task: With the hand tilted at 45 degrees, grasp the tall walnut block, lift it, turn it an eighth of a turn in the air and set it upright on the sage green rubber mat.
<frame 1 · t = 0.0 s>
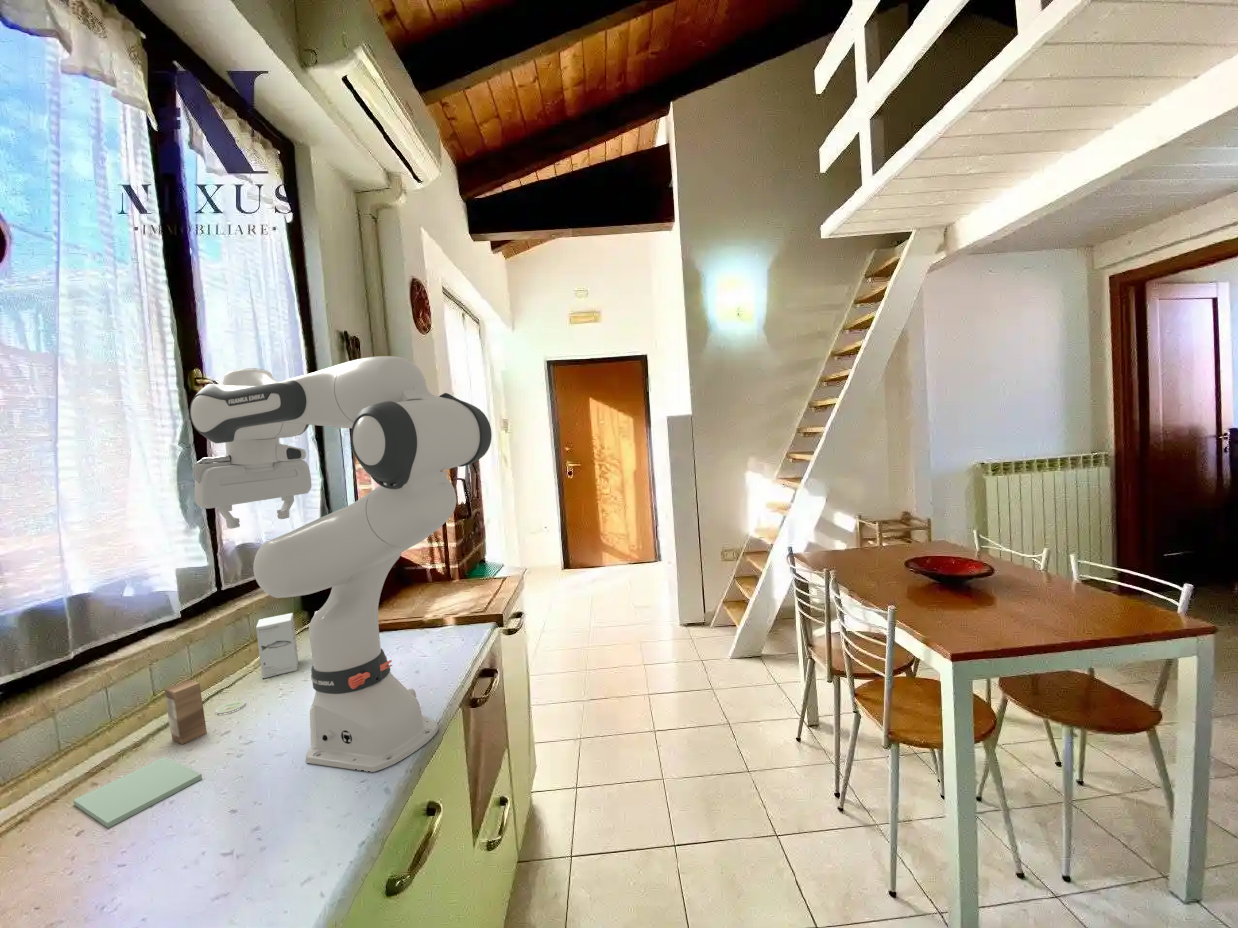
hand: (259, 522, 109), 39 cm above the worktop, tool pointing down, fingers open, 8 cm apart
supplement box: (281, 670, 134), on the worktop
rubber mat: (139, 791, 89), on the worktop
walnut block: (189, 736, 105), on the worktop
sign: (242, 700, 120), on the worktop
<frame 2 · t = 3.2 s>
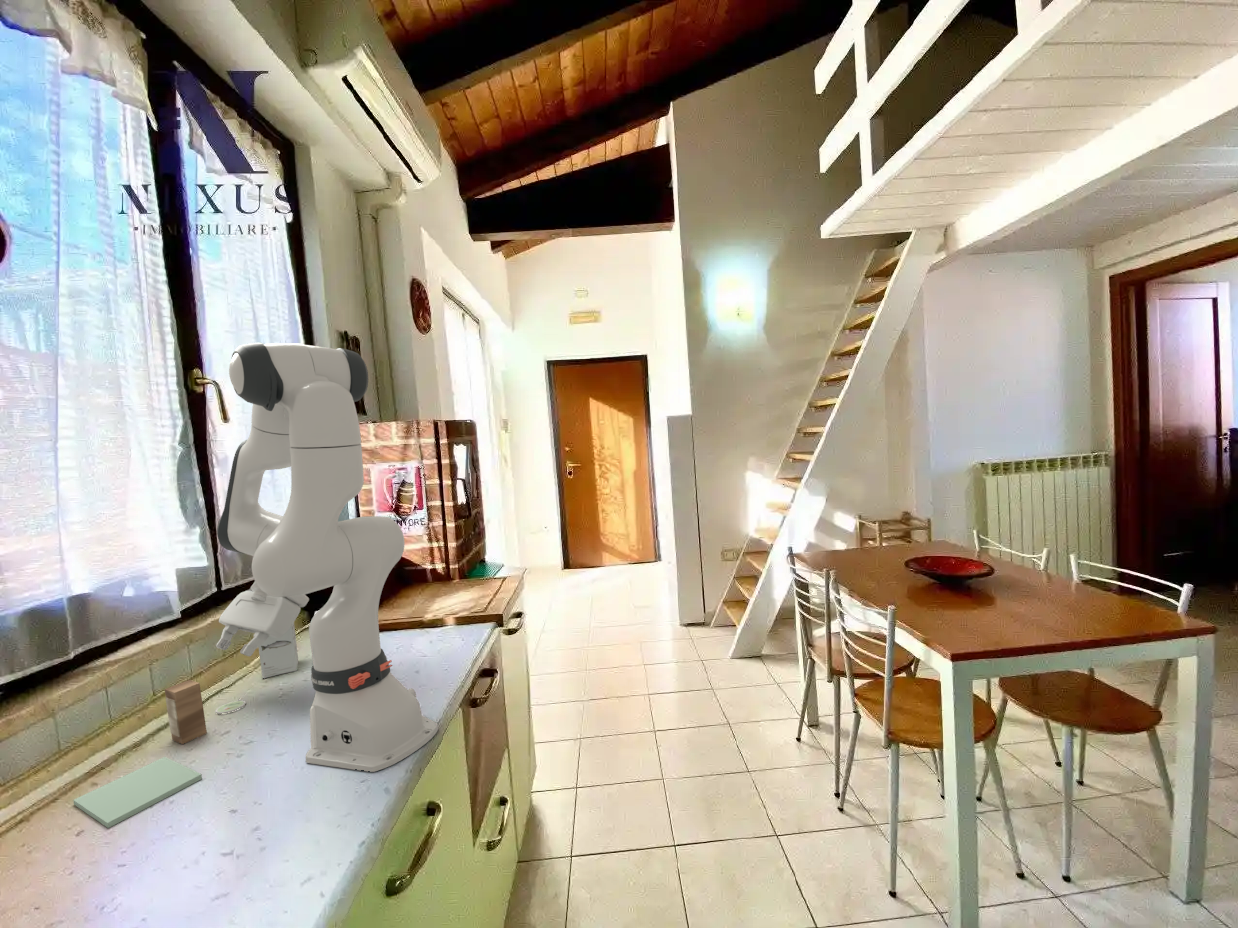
hand: (232, 651, 112), 13 cm above the worktop, tool tilted 45°, fingers open, 8 cm apart
nothing on the worktop moved.
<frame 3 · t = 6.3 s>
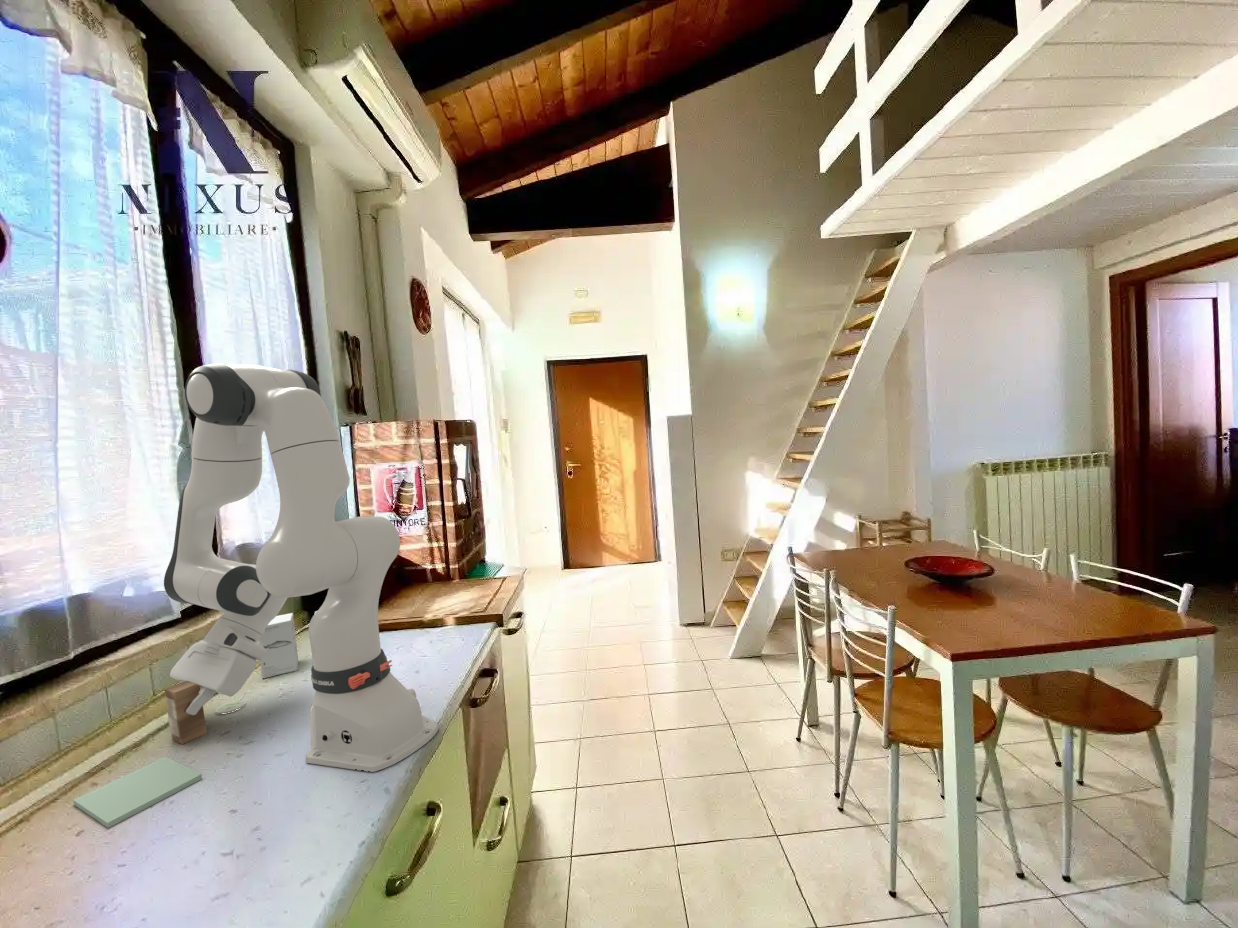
hand: (181, 711, 104), 5 cm above the worktop, tool tilted 45°, fingers closed on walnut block, 4 cm apart
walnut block: (189, 736, 105), on the worktop, touching gripper
everything else where it was.
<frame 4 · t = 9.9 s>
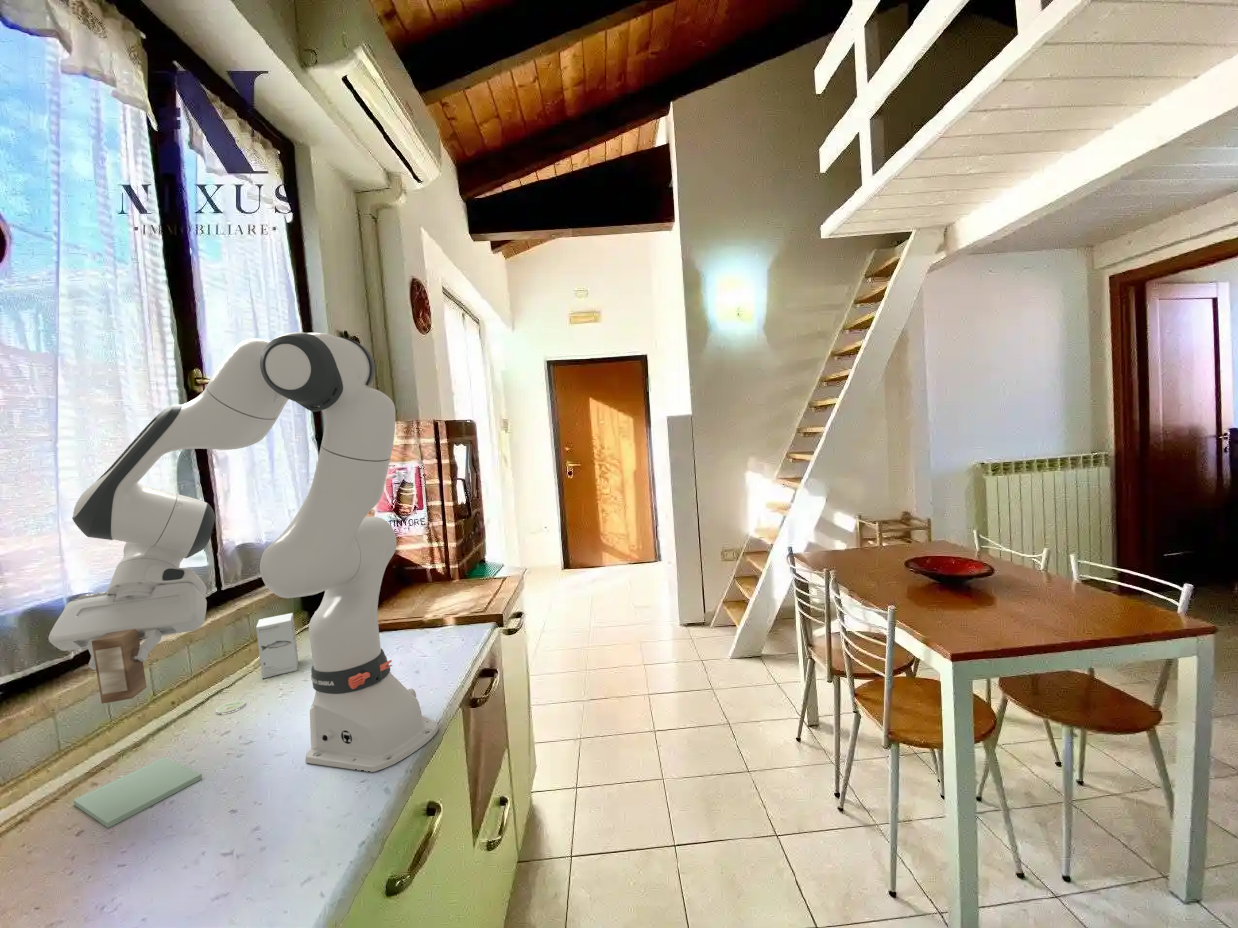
hand: (117, 664, 87), 21 cm above the worktop, tool tilted 45°, fingers closed on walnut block, 4 cm apart
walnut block: (124, 695, 88), point 16 cm above the worktop, touching gripper
everything else where it was.
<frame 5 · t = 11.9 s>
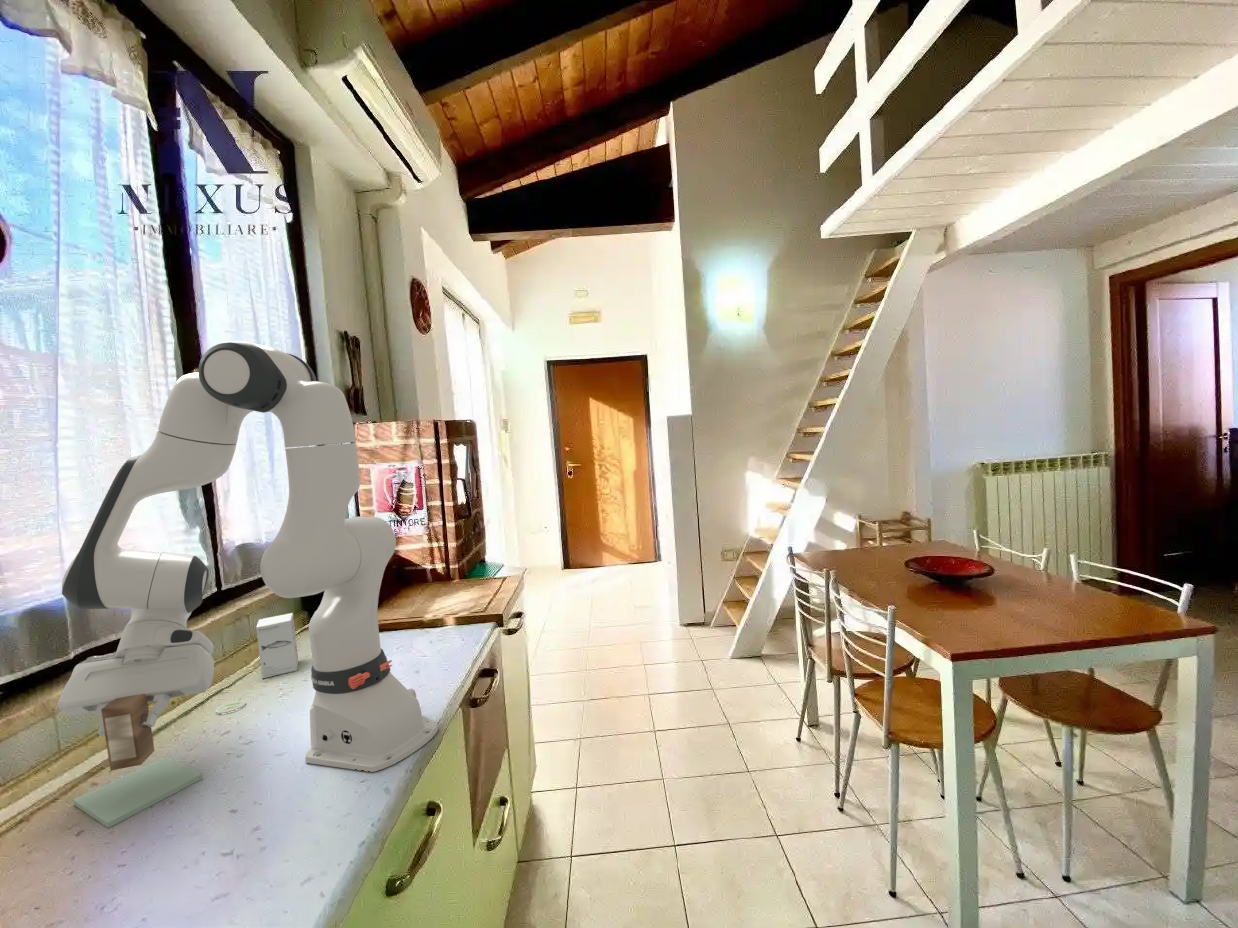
hand: (126, 730, 88), 11 cm above the worktop, tool tilted 45°, fingers closed on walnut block, 4 cm apart
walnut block: (133, 760, 89), point 5 cm above the worktop, touching gripper
everything else where it was.
when the fingers open (7 cm above the worktop, at t = 13.4 s): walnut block drops 1 cm, resting on rubber mat.
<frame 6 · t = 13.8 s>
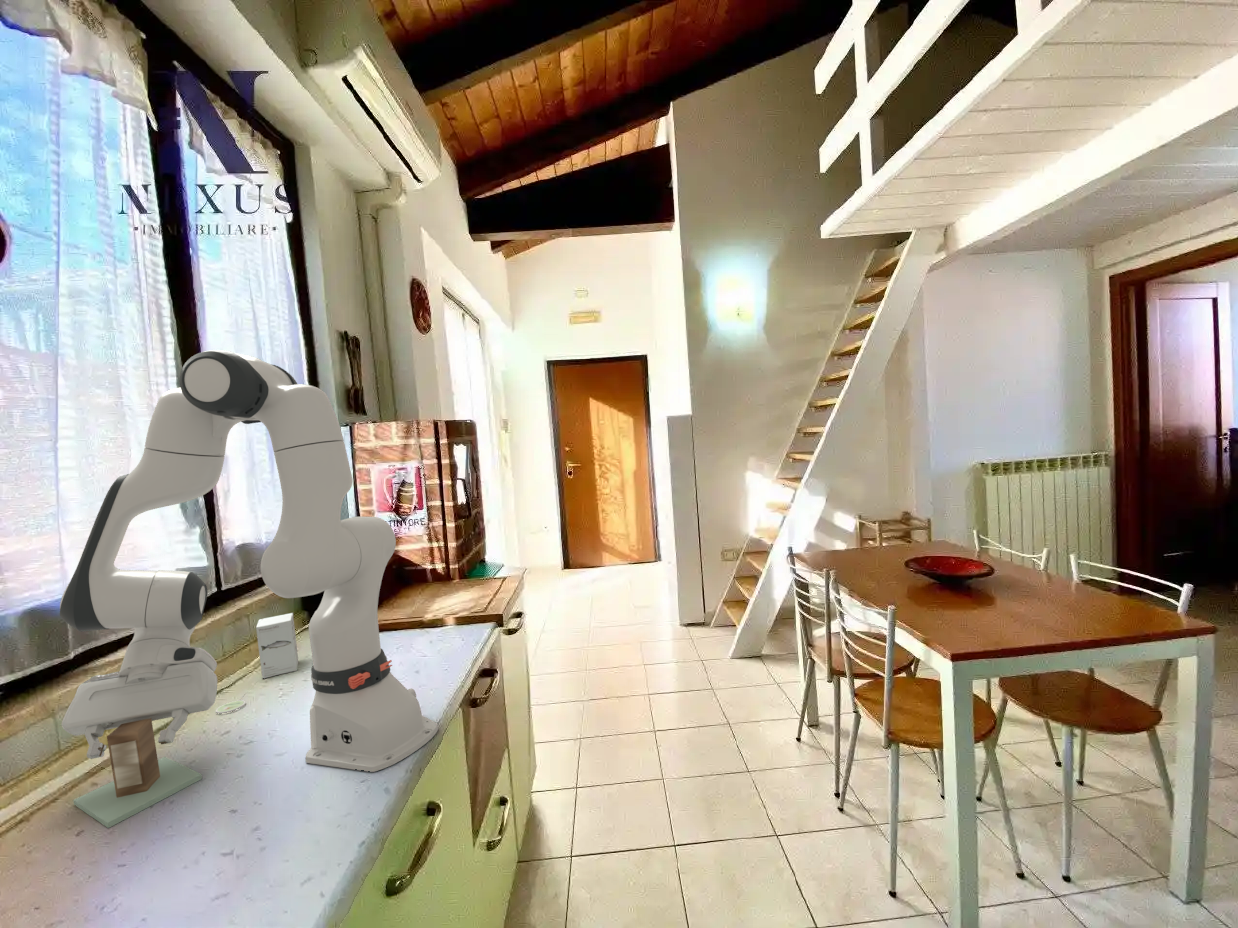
hand: (130, 749, 88), 7 cm above the worktop, tool tilted 45°, fingers open, 8 cm apart
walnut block: (139, 786, 89), point 1 cm above the worktop, touching rubber mat
everything else where it was.
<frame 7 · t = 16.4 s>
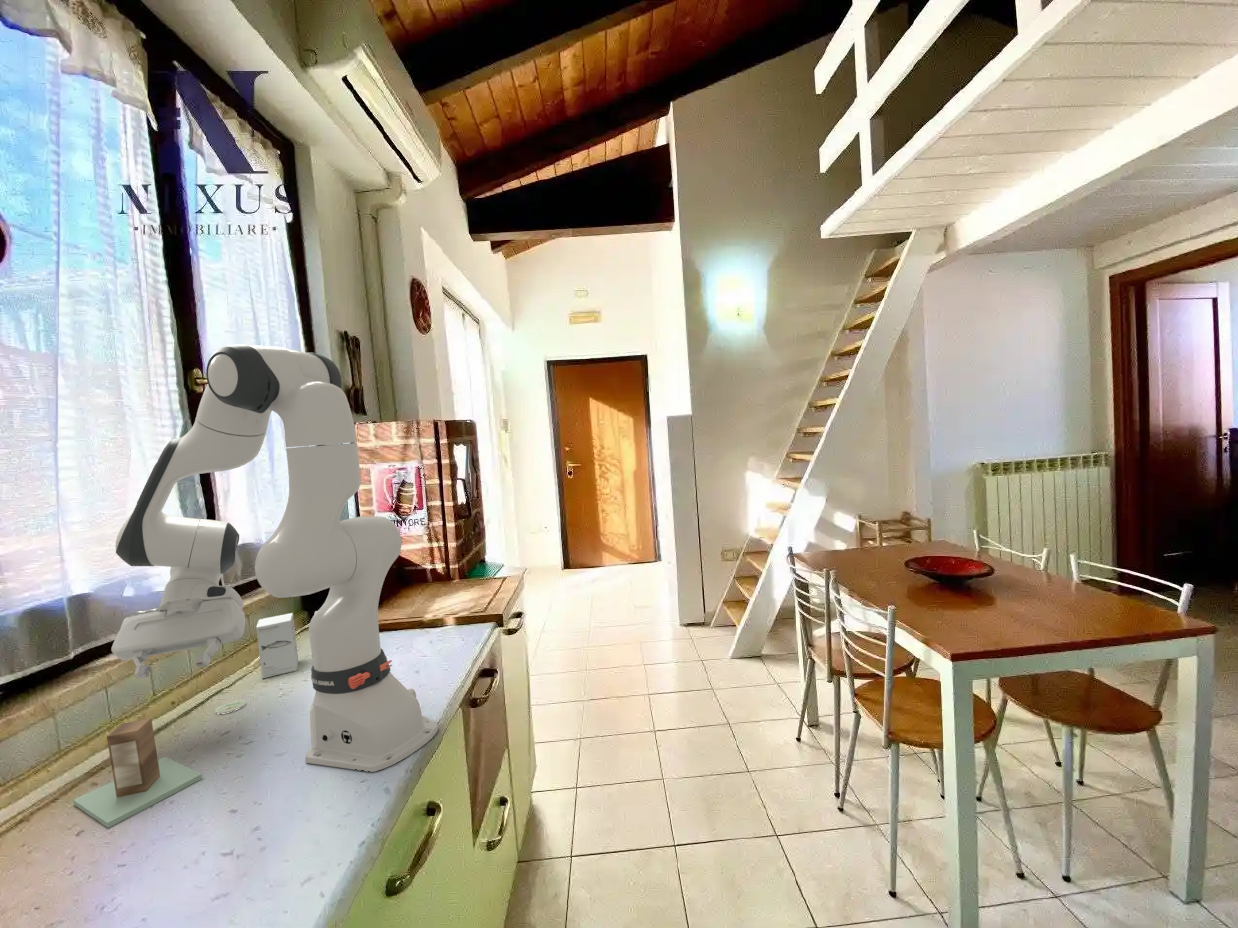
hand: (172, 670, 100), 15 cm above the worktop, tool tilted 45°, fingers open, 8 cm apart
nothing on the worktop moved.
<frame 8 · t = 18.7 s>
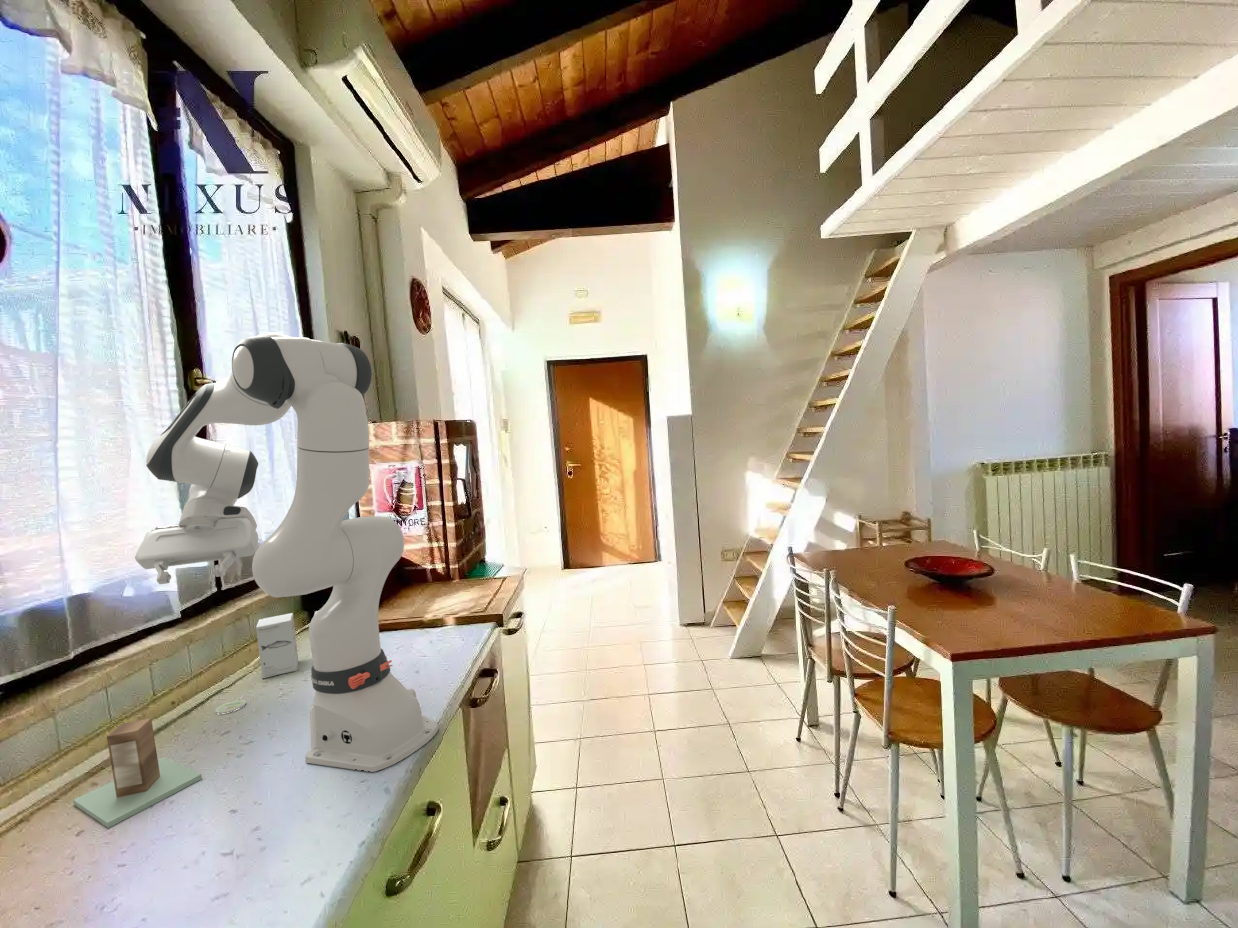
hand: (191, 578, 108), 29 cm above the worktop, tool tilted 45°, fingers open, 8 cm apart
nothing on the worktop moved.
at the end: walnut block inside the target area on the rubber mat (0.0 cm from its centre), point 0.8 cm above the rubber mat's base; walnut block tilted 0°; the gripper is holding nothing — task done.
